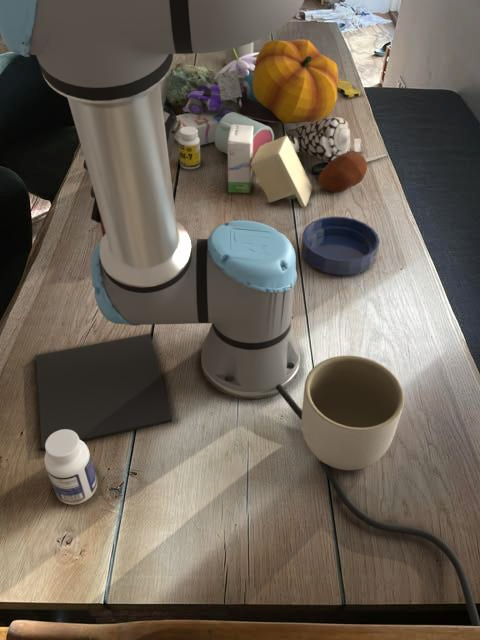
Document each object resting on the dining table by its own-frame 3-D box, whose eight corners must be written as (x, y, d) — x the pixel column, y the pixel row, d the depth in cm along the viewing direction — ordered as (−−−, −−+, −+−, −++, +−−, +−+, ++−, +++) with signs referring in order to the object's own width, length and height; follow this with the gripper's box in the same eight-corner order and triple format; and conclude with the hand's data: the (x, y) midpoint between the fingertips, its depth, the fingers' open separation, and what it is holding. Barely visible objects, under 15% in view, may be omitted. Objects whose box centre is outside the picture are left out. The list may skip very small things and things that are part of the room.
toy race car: (195, 88, 153) (189, 67, 147) (251, 95, 149) (247, 73, 143) (181, 116, 149) (175, 94, 143) (238, 123, 145) (234, 102, 139)
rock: (216, 85, 151) (206, 122, 157) (231, 63, 163) (221, 98, 170) (161, 64, 150) (153, 101, 157) (181, 43, 163) (173, 79, 169)
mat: (172, 421, 87) (172, 418, 86) (42, 450, 83) (41, 448, 83) (150, 336, 99) (150, 333, 99) (36, 358, 96) (35, 355, 95)
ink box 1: (228, 119, 147) (184, 131, 142) (229, 138, 150) (185, 150, 146) (212, 105, 152) (168, 117, 148) (213, 124, 155) (170, 136, 151)
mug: (247, 121, 146) (279, 135, 141) (229, 156, 147) (260, 171, 142) (217, 97, 134) (251, 111, 129) (197, 135, 135) (230, 151, 130)
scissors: (376, 149, 146) (306, 169, 139) (377, 146, 146) (307, 166, 139) (394, 161, 142) (323, 183, 135) (395, 158, 141) (324, 179, 134)
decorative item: (346, 98, 168) (362, 95, 169) (346, 95, 167) (362, 92, 169) (327, 82, 175) (343, 80, 177) (328, 79, 175) (343, 77, 176)
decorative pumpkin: (339, 130, 149) (369, 85, 137) (261, 139, 140) (286, 91, 127) (306, 67, 155) (332, 18, 142) (229, 71, 146) (250, 19, 133)
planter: (317, 491, 79) (325, 440, 71) (286, 417, 87) (291, 365, 80) (405, 469, 81) (422, 418, 74) (366, 399, 90) (378, 347, 82)
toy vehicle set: (361, 151, 144) (359, 155, 146) (361, 137, 145) (360, 141, 147) (310, 149, 145) (309, 153, 146) (310, 135, 146) (310, 139, 147)
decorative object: (315, 148, 146) (319, 107, 139) (199, 132, 152) (198, 93, 145) (335, 99, 167) (339, 62, 160) (232, 87, 173) (232, 50, 166)
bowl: (388, 270, 112) (392, 253, 109) (317, 284, 109) (319, 266, 107) (357, 228, 122) (359, 211, 119) (290, 240, 119) (292, 222, 116)
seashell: (297, 132, 131) (315, 175, 134) (349, 106, 132) (365, 149, 136) (276, 135, 147) (292, 173, 150) (323, 111, 148) (338, 150, 151)
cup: (221, 63, 186) (220, 29, 179) (245, 59, 189) (246, 25, 182) (232, 73, 181) (232, 38, 174) (257, 69, 183) (258, 34, 176)
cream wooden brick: (246, 165, 124) (275, 217, 130) (278, 153, 120) (306, 207, 127) (256, 146, 130) (283, 197, 136) (287, 134, 126) (313, 186, 133)
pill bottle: (79, 462, 82) (65, 416, 75) (106, 484, 79) (94, 439, 73) (46, 489, 79) (29, 444, 72) (73, 513, 76) (58, 469, 70)
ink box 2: (250, 193, 132) (251, 142, 124) (227, 192, 132) (227, 141, 124) (252, 173, 138) (254, 124, 130) (231, 172, 138) (230, 123, 130)
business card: (237, 69, 143) (238, 70, 144) (216, 73, 144) (217, 75, 144) (241, 95, 139) (242, 96, 139) (220, 100, 140) (220, 101, 140)
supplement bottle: (176, 166, 140) (173, 132, 134) (186, 157, 143) (184, 123, 137) (194, 171, 138) (192, 136, 133) (204, 162, 141) (203, 128, 136)
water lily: (246, 33, 162) (258, 67, 165) (196, 56, 160) (209, 90, 163) (265, 25, 149) (278, 62, 152) (211, 50, 146) (225, 87, 150)
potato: (312, 166, 128) (342, 183, 125) (347, 134, 131) (378, 150, 128) (314, 191, 135) (343, 208, 131) (348, 160, 138) (376, 176, 134)
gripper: (208, 88, 93) (179, 238, 93) (99, 75, 96) (70, 220, 96) (196, 66, 86) (164, 228, 85) (78, 53, 89) (47, 209, 89)
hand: (114, 224), depth 91 cm, fingers closed on case, 5 cm apart
